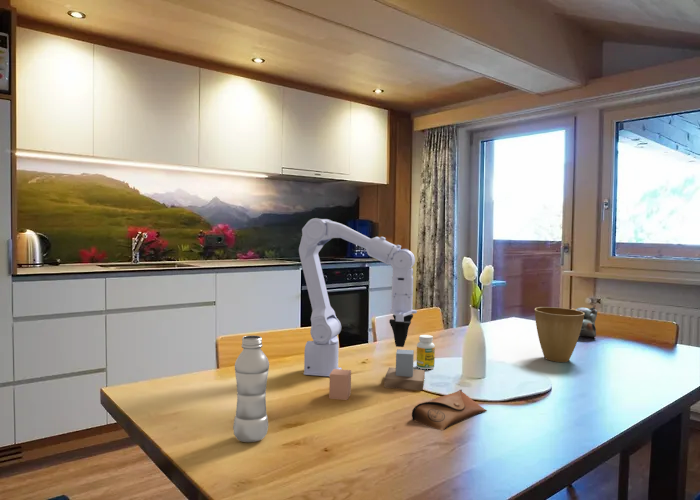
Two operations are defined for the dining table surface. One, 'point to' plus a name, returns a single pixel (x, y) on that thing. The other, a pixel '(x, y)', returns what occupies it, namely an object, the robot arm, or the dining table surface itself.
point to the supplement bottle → (425, 352)
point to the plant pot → (558, 331)
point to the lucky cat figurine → (588, 322)
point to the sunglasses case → (446, 410)
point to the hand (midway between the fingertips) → (401, 343)
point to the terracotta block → (340, 384)
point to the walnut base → (404, 380)
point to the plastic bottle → (251, 391)
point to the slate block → (404, 362)
